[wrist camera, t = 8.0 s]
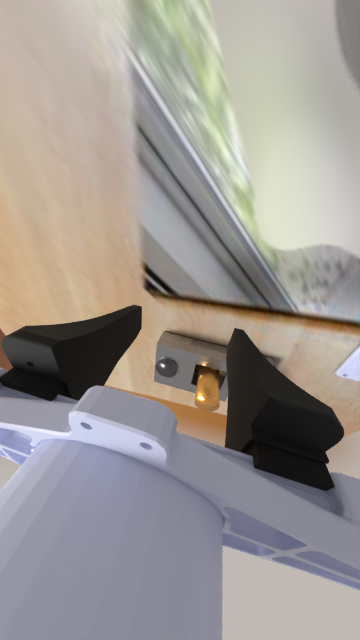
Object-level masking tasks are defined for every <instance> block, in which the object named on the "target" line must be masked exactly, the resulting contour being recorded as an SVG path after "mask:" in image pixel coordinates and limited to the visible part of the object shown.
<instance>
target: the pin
mask: <svg viewBox="0 0 360 640" xmlns="http://www.w3.org/2000/svg"><path fill="white" fill-rule="evenodd" d="M219 382H220V370H217V369H214V368H210V367H206V366H202V365H200V368H199V375H198V382H197V389H196V396H195V404H196V406H197V407H198V408H200V409H202V410H205V411H214V410H217V409H218V408H219Z"/></svg>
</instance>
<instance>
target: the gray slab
mask: <svg viewBox="0 0 360 640" xmlns="http://www.w3.org/2000/svg"><path fill="white" fill-rule="evenodd" d="M227 348H228V347H224V346H220V345H216V344H212V343H208V342H204V341H200V340H196V339H192V338H188V337H184V336H180V335H175V334H171V333H167V332H163V334H162V335H161V337H160V339H159V341H158V343H157V350H156V363H155V376H154V381H155V382H158V383H162V384H165V385H169V386H172V387H176V388H179V389H183V390H186V391H190V392H193V393H196V389H197V382H198V375H199V371H198V370H194V369H195V366H196V364H199V365H202V366H206V367H210V368H214V369H217V370H221V371H222V372H221V375H220V382H219V400H221V401H225V400H226V398H227V396H228V382H227V368H226V354H227ZM264 357H265V356H264ZM265 358H266V359H267V360H268V361H269V362H270V363H271V364H272V365H273V366H274V367H275V365H274V362H273V359H272V358H269V357H265Z"/></svg>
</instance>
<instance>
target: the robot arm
mask: <svg viewBox="0 0 360 640" xmlns="http://www.w3.org/2000/svg"><path fill="white" fill-rule="evenodd" d="M141 324H142V307H141V306H137V305H132V306H129V307H126V308H123V309H121V310H118V311H115V312H113V313H109V314H106V315H103V316H100V317H97V318H93V319H89V320H84V321H78V322H72V323H65V324H56V325H39V326H24V327H23V328H21V329H19V330H17V331H15V332H13V333H11V334H9V335H7V336H6V337H4V338H3V340H2V348H3V350H4V352H5V354H6V356H7V357H8V359H9V361H10V362H11V364H12V366H13V367H14V368H12V369H11V370H10V371H8V372H7V371H6V370H5V369H3V368H0V455H1V456H3V457H5V458H7V459H9V460H11V461H13V462H15V463H17V464H20V465H21V466H20V468H19V469H18V470H17V471H16V472H15V473H14V475H13V476H12V477H11V478H10V479H9V481H8V482H7V483H6V484H5V485H4V487H3V488H2V489H1V490H0V640H222V546H225V547H229V548H232V549H235V550H238V551H241V552H244V553H248V554H251V555H254V556H257V557H260V558H263V559H267V560H270V561H273V562H276V563H280V564H283V565H286V566H289V567H292V568H295V569H298V570H301V571H304V572H307V573H310V574H313V575H316V576H320V577H322V578H325V579H328V580H331V581H334V582H336V583H339V584H342V585H345V586H347V587H350V588H353V589H355V590H358V591H360V479H357V478H353V477H350V476H347V475H344V474H341V473H329V471H328V469H327V467H326V464H327V463H329V459H328V457H327V455H326V453H325V452H326V451H327V450H328V449H330V448H331V447H333V446H334V445H335V444H337V443H338V442H339V441H340V440H341V439H342V438H343V435H344V429H343V427H342V425H341V423H340V422H339V420H338V418H337V416H336V415H335V413H334V411H333V410H332V408H330V407H329V406H327V405H326V404H324V403H322V402H321V401H319V400H318V399H316V398H314V397H313V396H311V395H310V394H308V393H307V392H305V391H304V390H303V389H301V388H300V387H298V386H297V385H296V384H294V383H293V382H292V381H290V380H289V379H288V378H287V377H286V376H284V375H283V374H282V373H281V372H280V371H278V370H277V369H276V368H275V367H274V366H273V365H272V364H271V363H270V362H269V361H268V360H267V359H266V358H265V357H264V356H263V354H262V353H261V352H260V351H259V350H258V349H257V347H256V346H255V345H254V344H253V342H252V341H251V340H250V338H249V337H248V335H247V334H246V333H245V332H244V330H241V329H236V328H235V329H234V332H233V334H232V337H231V340H230V342H229V345H228V348H227V354H226V368H227V382H228V409H227V427H226V440H225V447H221V446H219V445H215V444H212V443H209V442H206V441H203V440H200V439H196V438H193V437H190V436H187V435H184V434H181V433H179V432H177V431H176V426H177V420H176V415H175V414H174V413H173V412H172V411H171V410H170V409H169V408H168V407H167V406H165V405H163V404H161V403H159V402H157V401H154V400H150V399H147V398H144V397H140V396H137V395H134V394H130V393H127V392H124V391H120V390H117V389H114V388H110V387H106V386H104V384H105V383H106V381H107V379H108V377H109V376H110V374H111V372H112V371H113V369H114V367H115V366H116V364H117V362H118V361H119V360H120V358H121V357H122V356H123V354H124V353H125V352H126V350H127V349H128V348H129V347H130V345H131V344H132V343H133V341H134V340H135V339H136V337H137V335H138V334H139V332H140V330H141ZM335 373H336V375H337V376H339V377H343V378H347V379H351V380H355V381H359V382H360V346H359V347H358V348H357V349H356V350H355V351H354V352H353V353H352V354H351V355H350V357H349V358H348V359H347V360H346V361H345V362H344V363H343V364H342V365H341V366H340V367H339V368H338V369H337V371H336V372H335ZM325 463H326V464H325Z"/></svg>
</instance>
